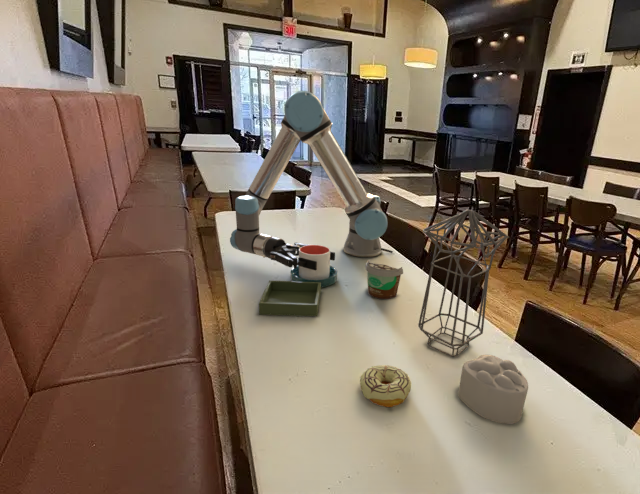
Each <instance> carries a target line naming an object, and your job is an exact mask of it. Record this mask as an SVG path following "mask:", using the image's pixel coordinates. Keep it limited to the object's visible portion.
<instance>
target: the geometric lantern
mask: <svg viewBox="0 0 640 494" xmlns="http://www.w3.org/2000/svg"><path fill="white" fill-rule="evenodd" d="M466 217H468V222H469V225H467V224H464V222H465V219H466ZM481 222H482V223H484V224H485V225H487V226H489V228H491V229H493V230H494V231H495V232H494V231H488V230H486V228H485V227H484V225H483V224H482V223H481ZM457 225H458V227H457V228H456V231H455V232H454V234H453V236H452V238H449V237H447V236H448V235H449V234H450V232H451V231H452V230H453V229H455V227H456V226H457ZM461 229H462V231H463V232H464V233H465V235H467V236H468V237H469V238H470V240H471V241H470V243H464V242H459V241H455V240H456V238H457V236H458V235H459V232H460V230H461ZM467 229H469V230H470V232H469V231H468V230H467ZM442 230H443V234H442V235H440V234H439V231H442ZM434 232H436V233H434ZM422 233H423V234H425V235H426V236H427V237H428V239H429V240H430V241H431V242H432V243H433V244H434V251H433V256H432V260H431V262H430V270H429V274H428V278H427V283H426V287H425V291H424V296H423V297H424V298H423V302H422V306H421V310H420V315H419V319H418V324H417V327H418V329H419V330H420V331H421V332H422V333H423V334H424V335H425V336H426V337H427V338H428V339H427V344H426V345H427V346H428V347H429V348H431V349H434V350H436V351H438V352H439V353H442V354H445V355H447V356H448V357H450V358H457V357H459V355H461V354H462V353H463V352H464V351H465V350H467V348H468V347H469V346H470V343H471V342H472V341H473V340H476V339H477V338H478V337H480V336H481V335H483V333H484V327H485V318H486V317H485V315H486V306H487V298H488V297H487V296H488V288H489V287H488V286H489V276H490V270H491V268H492V265H493V259H494V256H495V254H496V251H497V249H498V248H499V247H501V245H502V244H503V243H504V242H505V241H506V240H507V239H509V238H510V236H509V235H507V234H506V233H505V232H504V231H502V230H501V229H499V228H498V227H497V226H495V225H494V224H492V223H491V222H490V221H489V220H487V219H485V217H484V216H482V215H481V214H479V213H478V212H476V211H475V210H473V209H465V210H464V211H462V212H460V213H458V214H455V215H453V216H451V217H448V218H446V219H444V220H441V221H439V222H437V223H434V224H433V225H430V226H428V227H425V228H423V229H422ZM491 235H493V236H494V235H495V237H492V236H491ZM478 237H479V239H480V240H478ZM488 239H489V240H488ZM446 241H447V242H449V243H450V247H449V245H448V243H447V242H446ZM439 242H440V244H439ZM443 242H444V245H445V246H446V248H447V249H446V250H445V249H443ZM477 244H478V245H479V246H477ZM453 245H458V246H463V247H462V248H459V249H456V250H453ZM493 245H494V248H492V250H491V251H490V248H491V246H493ZM485 247H487V250H486V251H487V252H486V251H485ZM473 248H475V249H480V250H481V252H482V255H481V256H480V257H479V258H478V259H477V260H474V259H471V258H467V257H464V256H463V255H464V254H465V252H466V251H467V250H470V249H473ZM437 249H438V252H437ZM460 252H461V253H460ZM440 253H444V254H448V255H447V256H444V257H441V258H439V259H437V257H438V256H439V255H440ZM457 253H460V254H459V255H456V254H457ZM489 257H490V260H489V264H487V261H486V259H489ZM446 259H449V263H448V264H449V265H448V267H447V268H448V269H447V268H445V267H443V266H442V267H441V266H440V265H436V264H435V263H437V262H439V261H443V260H446ZM453 259H454V260H455V264H456V266H455V271H453V270H451V268H452V263H453ZM461 259H463V260H466V261H470V262H472V263H475V264H474V265H473V266H472V267H471V268H470V270H469V271H468V272H467V274H465V273H464V271H463V269H462V267H461V265H460V260H461ZM481 259H483V262H484V263H483V262H480V261H481ZM478 264H479V265H482V266H484V267H486V268H485V270H482V271H480V272H478V273H476V274H473V275H470V274H471V272H472V271H473V270H474V269H475V267H476V266H477V265H478ZM434 267H435V268H437V269H440V270H443V271H446V276H445V277H446V278H445V281H444V287H443V292H442V297H441V301H440V305H439V311H438V313H437V314H435V315H433V316H431V317H430V318H428V319H425V318H426V314H427V313H426V312H427V307H428V301H429V295H430V289H431V283H432V278H433V271H434ZM458 271H459V272H460V273H458ZM450 273H451V274H454V278H453V284H452V289H451V296H450V302H449V307H448V313H444V312H442V309H443V304H444V301H445V296H446V291H447V287H448V282H449V278H450ZM484 273H485V274H484ZM482 274H484V281H483V287H482V293H481V298H480V299H481V300H480V306H479V312H478V319H477V324H475V323H472V322H469V321H467V320H468V311H469V301H470V294H471V293H470V292H471V285H472V284H471V283H472V278H473V279H474V278H475V277H477V276H479V275H482ZM458 276H459V277H460V280H459V284H458V285H459V287H458V293H457V300H456V306H455V314H454V315H453V314H451V313H452V306H453V301H454V295H455V289H456V284H457V283H456V282H457V278H458ZM464 278H468V282H467V291H466V298H465V299H466V300H465V311H464V318H463V319H462V318H460V317H458V314H459V306H460V301H461V300H460V299H461V296H462V295H461V294H462V287H463V281H464ZM442 316H445V317H447V318H446V322H445V324H444V326H443V321H442ZM438 317H439V322H440V326H441V327H439V328H438V329H436V330H435V331H434V332H432V333H431V332H430V331H427V330H425V329H424V325H425V324H426V323H428V322H430V321H432V320H434V319H436V318H438ZM450 318H453V319H454V320H453V326H452V328H449V327H447V326H448V323H449V319H450ZM457 321H460V322H461V323H463V327H462V332H460V331H457V330H456V328H457V327H456V326H457ZM467 324H468V325H470V326H472V327H474V328H475V329H474V330H472V332H470V333H469V334H468V335H467V334H466V330H467V329H466V328H467ZM480 324H481V325H480ZM443 329H444V330H443ZM442 330H443V331H442ZM447 330H448V331H450V332H451V334H450V333H447V332H446V331H447ZM477 330H478V331H479V332H478V333H477V334H475V335H473V334H474V333H475V332H476V331H477ZM438 332H439V333H438ZM437 333H438V334H437ZM435 334H437V335H435ZM455 334H459V335H462V338H460V337H457V336H455ZM441 335H446V336H449V337H450V338H451V339H450V342H449V341H448V340H445V339H443V338H441V337H440V336H441ZM472 335H473V336H472ZM432 337H433V338H432ZM465 338H466V339H465ZM455 339H456V340H458V341H460V342H461V343H454V340H455ZM432 342H435V343H437V344H440V345H443V346H444V347H447V348H449V349H451V350H452V353H448V352H446V351H444V350H441V349H439V348H437V347H435V346H432ZM462 347H464V348H463V349H462V350H460V351H459V349H461V348H462ZM455 351H456V353H455Z"/></svg>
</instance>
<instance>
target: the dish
mask: <svg viewBox="0 0 640 494" xmlns="http://www.w3.org/2000/svg"><path fill="white" fill-rule="evenodd" d="M289 273H290V281H297V282H321V288H325V287H326V288H327V287H329V286H331V285H333V284H335V283H336V282H337V281H338V269H337V268H336V267H335V266H332V265H330V274H329V277H328V278H326V279H318V280H312V279H304V278H300V277H299V266H298V265H297V268H294V266H292V267H291V269H290V272H289Z"/></svg>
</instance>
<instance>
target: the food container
mask: <svg viewBox="0 0 640 494" xmlns="http://www.w3.org/2000/svg"><path fill="white" fill-rule="evenodd" d="M364 269H365V271H366V272H367V273H366V274H367V275H366V276H367V294H368V295H369V296H371V297H372V298H375V299H379V300H389V299H393V298H395V297H397V296H398V290H399V285H400V281H401V275H403V274H404V268H403V266H401V267H399V268H396V267H393V266H390V265H387V264H378V263H373V262H370V259H368V260H367V262H366V263H365V267H364Z"/></svg>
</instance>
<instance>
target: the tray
mask: <svg viewBox="0 0 640 494" xmlns="http://www.w3.org/2000/svg"><path fill="white" fill-rule="evenodd" d="M321 294H322V287H321V282H297V281H292V280H268V282H267V284H266V286H265V288H264V291H263V293H262V295H261V297H260V299H259V302H258V315H260V316H267V315H268V316H290V317H291V316H294V317H295V316H296V317H318V313H319V307H320V301H321V300H320V299H321Z"/></svg>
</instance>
